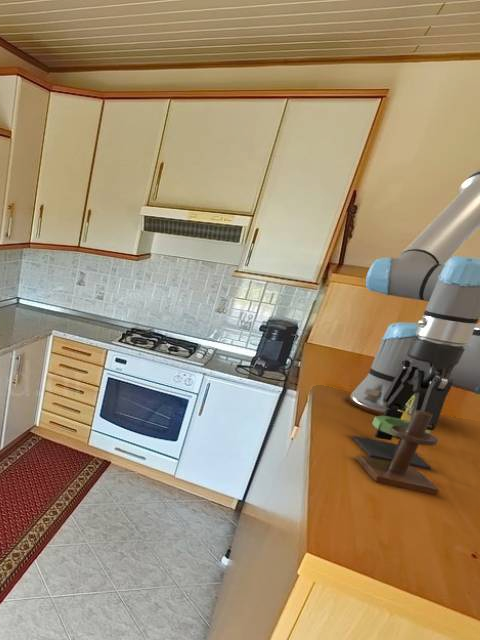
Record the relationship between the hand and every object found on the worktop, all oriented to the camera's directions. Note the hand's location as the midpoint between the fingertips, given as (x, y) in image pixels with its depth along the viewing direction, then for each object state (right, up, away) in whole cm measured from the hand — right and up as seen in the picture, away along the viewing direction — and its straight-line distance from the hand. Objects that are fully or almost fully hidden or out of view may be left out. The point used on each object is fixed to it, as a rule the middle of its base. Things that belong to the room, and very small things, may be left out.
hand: (391, 446), depth 100 cm
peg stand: (-8, -4, -10) cm, 14 cm away
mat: (0, -1, 0) cm, 1 cm away
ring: (0, +3, -1) cm, 4 cm away
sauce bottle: (+12, +1, +10) cm, 15 cm away
